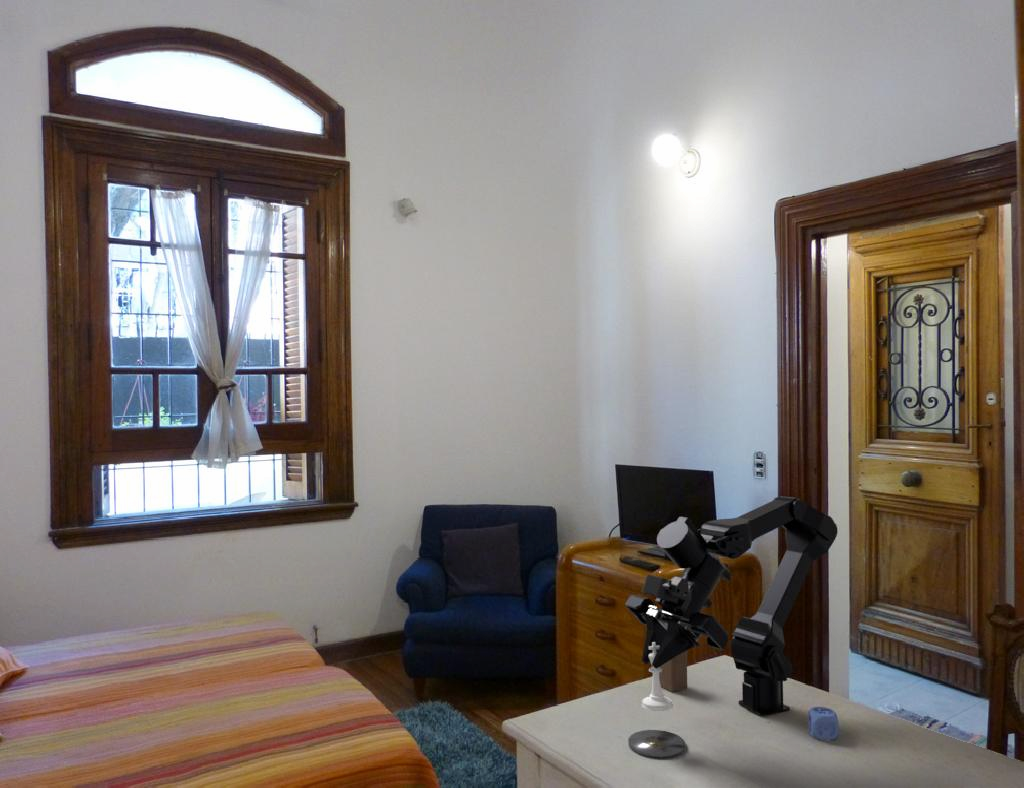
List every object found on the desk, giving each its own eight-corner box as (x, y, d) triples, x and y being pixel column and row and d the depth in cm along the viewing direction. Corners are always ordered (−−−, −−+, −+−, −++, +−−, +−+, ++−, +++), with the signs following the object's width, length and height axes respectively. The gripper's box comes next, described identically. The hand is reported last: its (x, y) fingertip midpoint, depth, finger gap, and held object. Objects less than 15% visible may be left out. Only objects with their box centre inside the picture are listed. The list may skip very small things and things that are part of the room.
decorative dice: (808, 729, 128) (807, 705, 128) (833, 731, 127) (832, 707, 127) (813, 740, 124) (812, 715, 124) (839, 741, 123) (838, 716, 123)
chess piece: (677, 709, 120) (673, 644, 121) (647, 712, 119) (644, 647, 120) (666, 699, 125) (663, 637, 126) (637, 702, 124) (634, 639, 125)
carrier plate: (664, 729, 128) (664, 726, 128) (697, 751, 120) (696, 748, 120) (618, 739, 125) (617, 735, 125) (648, 762, 116) (648, 758, 116)
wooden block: (672, 693, 145) (671, 650, 145) (658, 686, 148) (657, 645, 148) (688, 688, 147) (687, 647, 147) (674, 682, 150) (673, 641, 150)
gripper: (631, 547, 133) (583, 622, 127) (713, 565, 117) (663, 651, 111) (665, 585, 137) (620, 660, 131) (749, 607, 122) (702, 693, 115)
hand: (648, 664), depth 122 cm, fingers closed on chess piece
